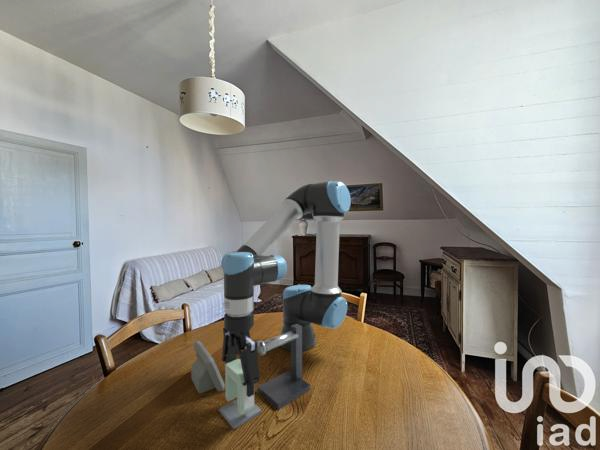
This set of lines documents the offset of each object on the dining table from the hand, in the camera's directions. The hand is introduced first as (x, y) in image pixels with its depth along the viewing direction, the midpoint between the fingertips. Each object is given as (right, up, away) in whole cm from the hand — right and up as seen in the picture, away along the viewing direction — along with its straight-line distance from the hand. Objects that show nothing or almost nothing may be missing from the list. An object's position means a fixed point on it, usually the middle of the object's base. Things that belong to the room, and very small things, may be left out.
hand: (239, 397), depth 69 cm
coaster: (0, -4, 0) cm, 4 cm away
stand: (+10, -4, +8) cm, 14 cm away
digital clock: (-13, -4, +13) cm, 19 cm away
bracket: (0, -1, 0) cm, 1 cm away
